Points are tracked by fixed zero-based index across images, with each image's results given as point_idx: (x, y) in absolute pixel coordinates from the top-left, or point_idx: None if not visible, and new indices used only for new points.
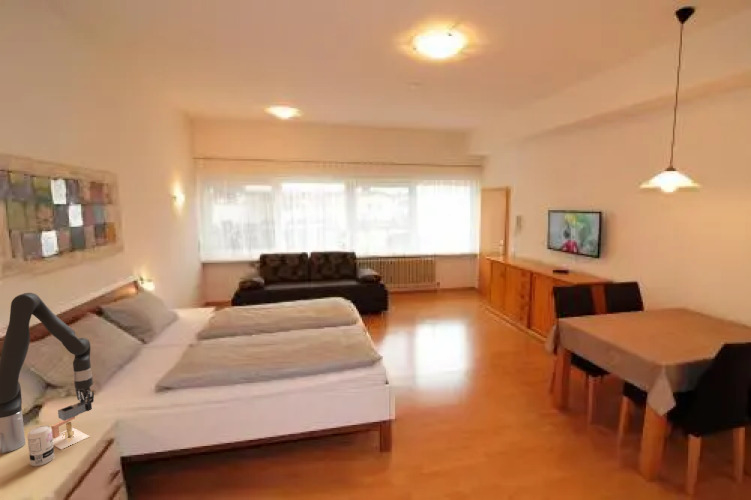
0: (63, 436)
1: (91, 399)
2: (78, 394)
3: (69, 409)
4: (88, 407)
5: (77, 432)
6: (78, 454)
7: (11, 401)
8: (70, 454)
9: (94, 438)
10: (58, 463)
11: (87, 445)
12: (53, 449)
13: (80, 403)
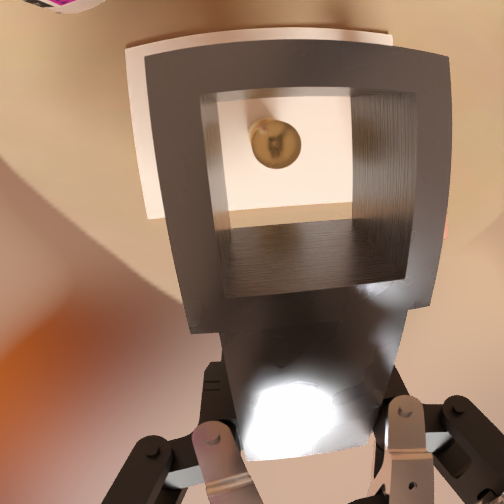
0: (319, 110)
1: (172, 499)
2: (481, 465)
3: (384, 233)
4: (203, 393)
5: (289, 188)
6: (6, 121)
7: None
8: (33, 87)
9: (108, 228)
10: (6, 37)
11: (56, 176)
12: (40, 4)
13: (334, 397)
